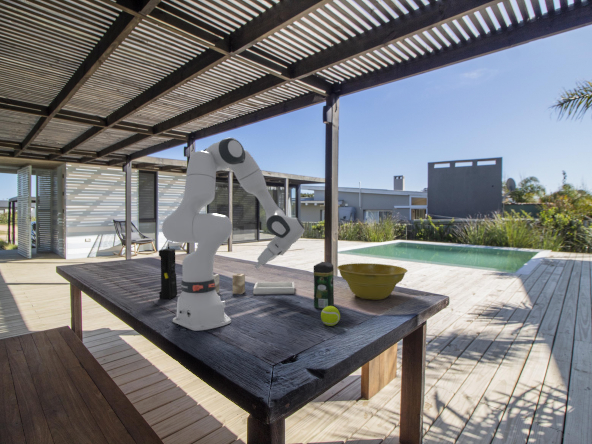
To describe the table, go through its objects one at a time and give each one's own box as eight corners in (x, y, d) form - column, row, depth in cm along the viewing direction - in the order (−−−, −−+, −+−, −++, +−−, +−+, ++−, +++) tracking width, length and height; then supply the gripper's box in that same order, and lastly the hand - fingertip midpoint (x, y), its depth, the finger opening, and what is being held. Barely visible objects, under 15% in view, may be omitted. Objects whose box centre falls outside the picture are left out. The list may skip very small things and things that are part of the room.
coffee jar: (317, 302, 138) (317, 260, 137) (335, 304, 135) (335, 261, 135) (311, 308, 128) (311, 263, 128) (330, 310, 126) (330, 264, 125)
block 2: (244, 291, 158) (244, 273, 158) (241, 294, 153) (241, 275, 153) (236, 291, 159) (236, 273, 159) (232, 293, 154) (232, 275, 154)
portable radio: (171, 299, 143) (170, 245, 143) (158, 299, 144) (157, 245, 143) (178, 295, 151) (177, 243, 151) (165, 295, 151) (164, 243, 151)
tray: (293, 287, 167) (293, 281, 167) (294, 293, 153) (294, 287, 153) (256, 287, 166) (256, 282, 166) (253, 294, 152) (253, 288, 152)
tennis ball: (324, 329, 105) (324, 309, 105) (318, 323, 111) (317, 304, 111) (343, 327, 107) (343, 308, 106) (335, 321, 113) (335, 302, 113)
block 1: (219, 291, 158) (219, 273, 158) (215, 294, 153) (215, 275, 153) (211, 291, 159) (210, 273, 159) (206, 293, 154) (206, 275, 154)
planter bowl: (398, 288, 163) (398, 263, 162) (416, 306, 131) (416, 274, 130) (335, 287, 166) (335, 262, 166) (338, 305, 134) (337, 273, 134)
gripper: (279, 240, 162) (261, 258, 164) (267, 243, 142) (247, 264, 144) (288, 248, 161) (269, 267, 163) (277, 253, 141) (256, 274, 143)
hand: (259, 266), depth 153 cm, fingers open, 8 cm apart
